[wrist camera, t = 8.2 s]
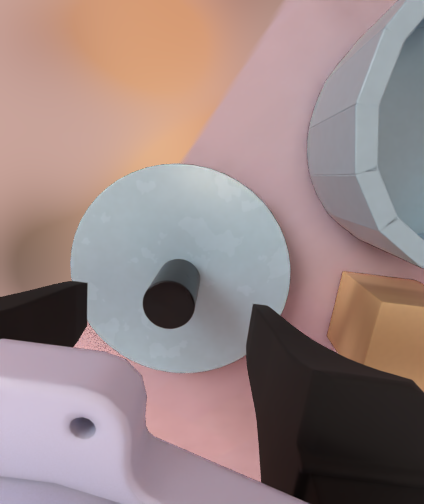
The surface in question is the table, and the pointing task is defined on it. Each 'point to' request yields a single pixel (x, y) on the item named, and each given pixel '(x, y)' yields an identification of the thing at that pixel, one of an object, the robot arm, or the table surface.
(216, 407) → the table surface
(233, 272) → the lid
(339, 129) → the tin
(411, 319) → the block
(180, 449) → the robot arm
